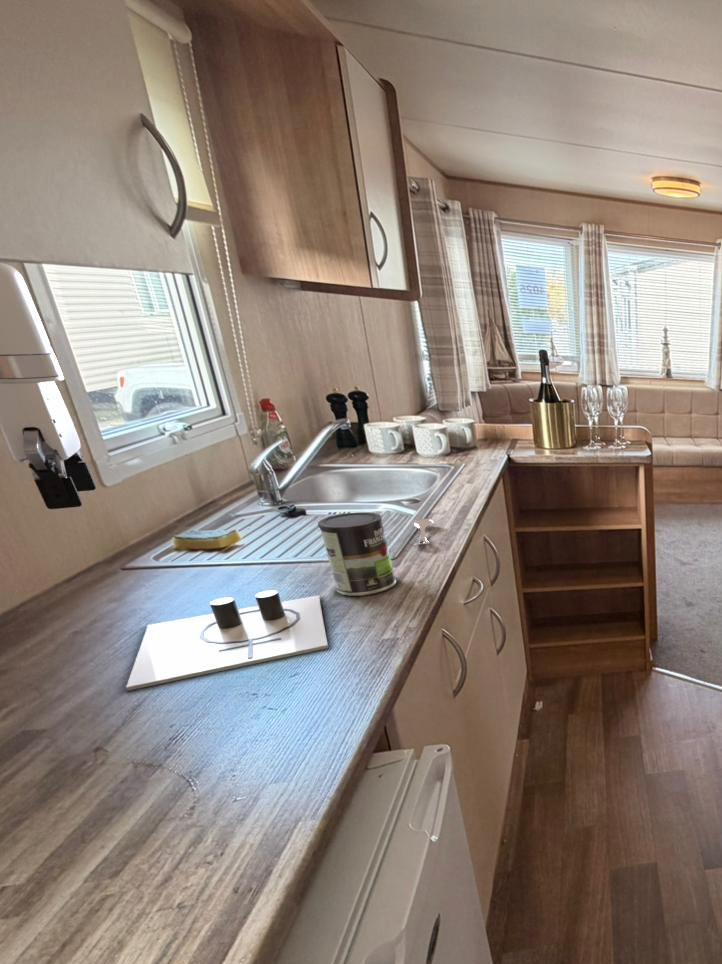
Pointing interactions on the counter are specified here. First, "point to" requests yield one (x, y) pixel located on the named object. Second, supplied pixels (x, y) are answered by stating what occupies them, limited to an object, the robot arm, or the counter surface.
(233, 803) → the counter surface
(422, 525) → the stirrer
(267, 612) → the dot
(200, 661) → the board
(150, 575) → the counter surface
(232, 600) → the dot
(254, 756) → the counter surface
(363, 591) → the coffee can
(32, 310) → the robot arm
